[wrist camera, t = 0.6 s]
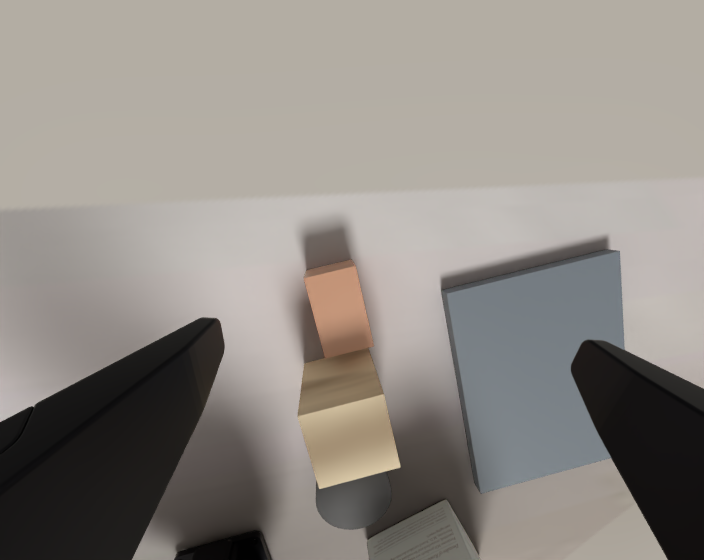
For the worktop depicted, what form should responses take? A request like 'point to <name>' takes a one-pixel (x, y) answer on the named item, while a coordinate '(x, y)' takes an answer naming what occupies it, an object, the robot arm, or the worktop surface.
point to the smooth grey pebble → (355, 501)
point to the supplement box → (424, 538)
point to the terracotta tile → (338, 308)
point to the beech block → (345, 419)
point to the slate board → (531, 365)
